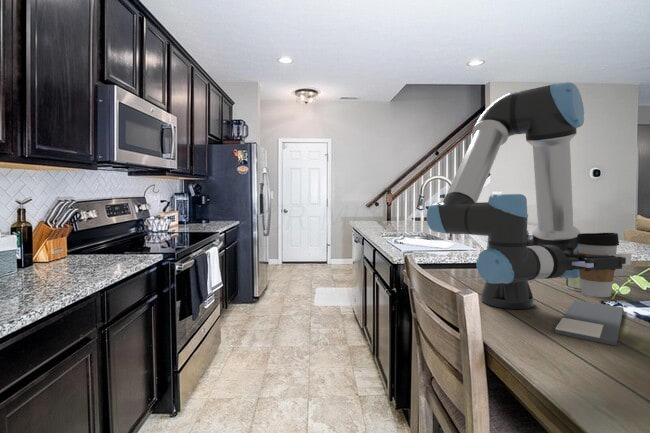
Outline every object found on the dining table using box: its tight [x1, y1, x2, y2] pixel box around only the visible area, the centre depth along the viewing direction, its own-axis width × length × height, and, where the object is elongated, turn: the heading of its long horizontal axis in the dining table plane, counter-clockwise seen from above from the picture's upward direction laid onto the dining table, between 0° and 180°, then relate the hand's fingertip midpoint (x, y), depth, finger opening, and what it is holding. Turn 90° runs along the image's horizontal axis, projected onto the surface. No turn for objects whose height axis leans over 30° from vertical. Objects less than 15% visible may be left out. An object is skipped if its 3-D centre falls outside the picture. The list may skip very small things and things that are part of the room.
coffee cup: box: [576, 232, 620, 298], centre depth 88 cm, size 8×8×15 cm
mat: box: [554, 299, 624, 346], centre depth 98 cm, size 32×12×1 cm, turn 138°
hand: (610, 256), depth 90 cm, fingers closed on coffee cup, 8 cm apart
